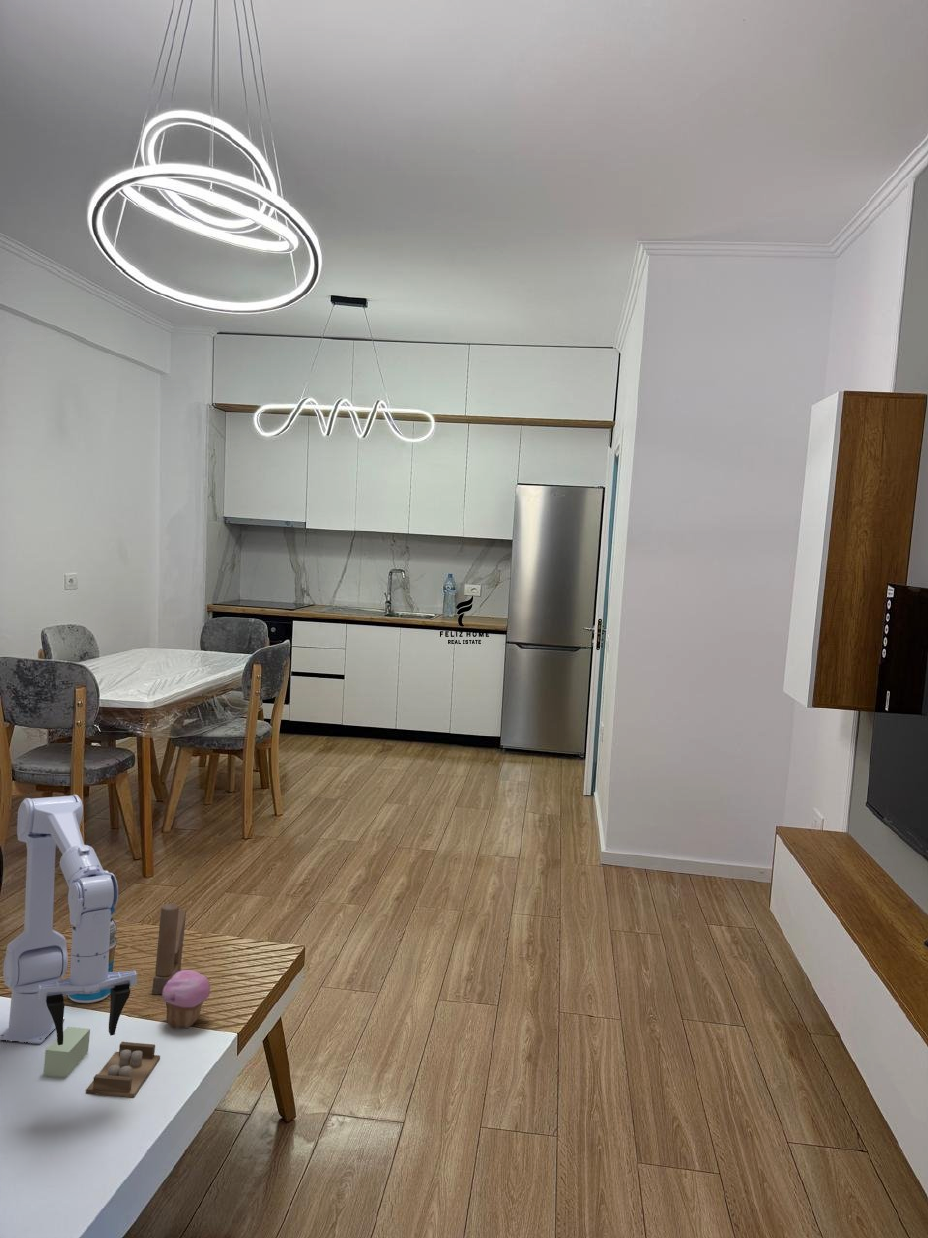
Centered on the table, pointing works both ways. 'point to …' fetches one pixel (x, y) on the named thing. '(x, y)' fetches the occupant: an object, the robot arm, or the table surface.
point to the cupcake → (185, 997)
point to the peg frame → (125, 1070)
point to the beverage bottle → (102, 994)
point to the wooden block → (169, 945)
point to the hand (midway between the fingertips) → (86, 1038)
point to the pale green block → (66, 1052)
